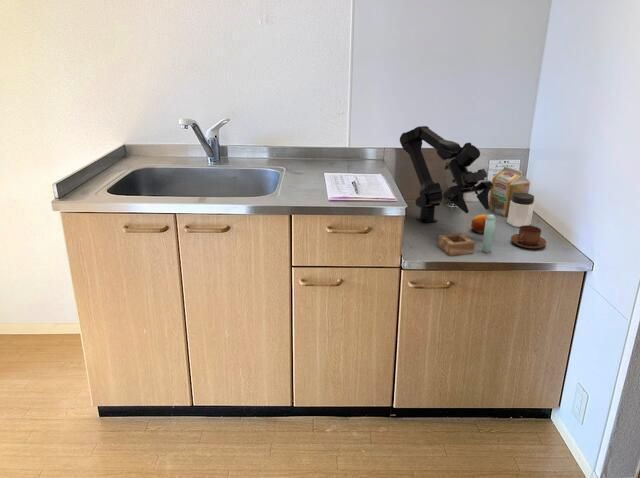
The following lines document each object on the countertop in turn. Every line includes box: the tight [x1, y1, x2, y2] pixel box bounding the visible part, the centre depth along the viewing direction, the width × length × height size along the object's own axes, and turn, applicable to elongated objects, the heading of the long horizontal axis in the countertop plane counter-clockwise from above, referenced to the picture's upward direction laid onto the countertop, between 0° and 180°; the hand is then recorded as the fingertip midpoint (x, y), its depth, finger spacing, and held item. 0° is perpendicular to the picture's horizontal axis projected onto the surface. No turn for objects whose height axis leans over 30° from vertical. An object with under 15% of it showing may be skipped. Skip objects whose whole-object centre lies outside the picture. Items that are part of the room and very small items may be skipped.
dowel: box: [481, 214, 497, 254], centre depth 173 cm, size 3×3×14 cm
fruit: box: [471, 214, 489, 234], centre depth 191 cm, size 8×8×8 cm
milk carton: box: [488, 165, 531, 218], centre depth 210 cm, size 11×11×19 cm
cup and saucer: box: [510, 225, 547, 249], centre depth 180 cm, size 12×12×6 cm
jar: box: [506, 192, 535, 228], centre depth 198 cm, size 9×8×12 cm
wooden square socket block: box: [437, 232, 476, 257], centre depth 175 cm, size 9×9×4 cm
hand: (477, 211), depth 176 cm, fingers open, 9 cm apart
